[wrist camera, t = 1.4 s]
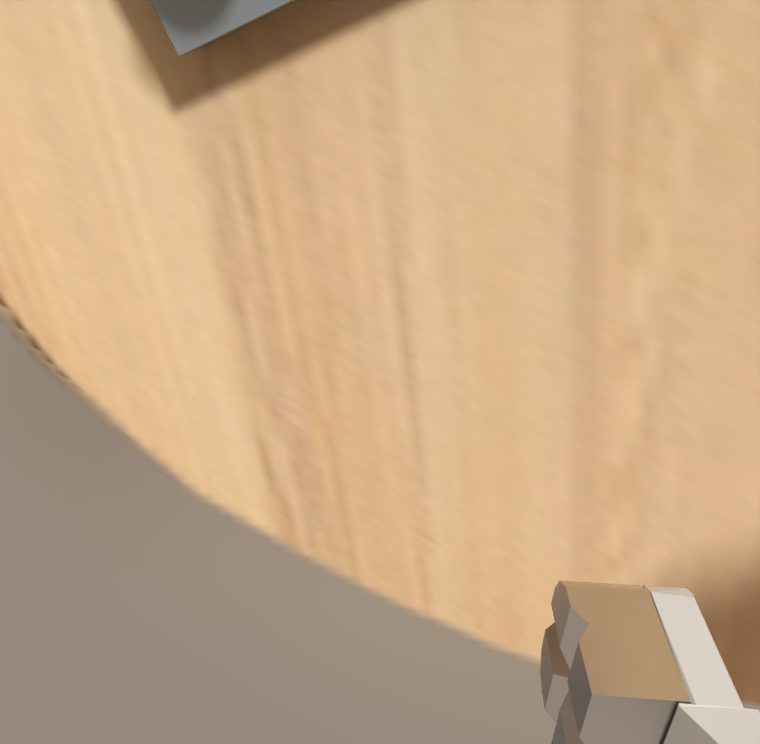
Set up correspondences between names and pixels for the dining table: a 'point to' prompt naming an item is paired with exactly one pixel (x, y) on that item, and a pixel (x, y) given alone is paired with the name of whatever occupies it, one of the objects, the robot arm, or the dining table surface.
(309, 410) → the dining table surface
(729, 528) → the dining table surface
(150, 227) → the dining table surface
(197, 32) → the button board
